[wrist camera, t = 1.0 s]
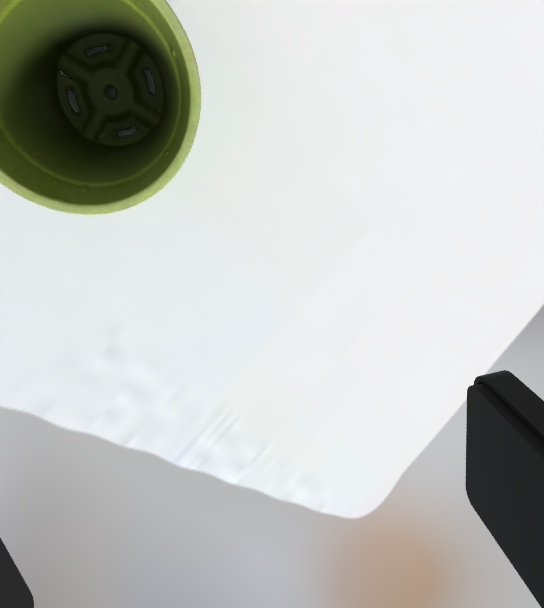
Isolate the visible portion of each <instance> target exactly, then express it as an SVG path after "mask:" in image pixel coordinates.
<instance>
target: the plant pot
mask: <svg viewBox="0 0 544 608" xmlns="http://www.w3.org/2000/svg"><path fill="white" fill-rule="evenodd" d="M102 45H105V46H107V48H108V50H107V51H104V52H99V53H95V54H93V55H90V56H88V55H87V54H86V53H85V52H84V51H87V50H90V49H91V48H94V47H96V46H102ZM146 69H148V70H149V71H150V73H151V76H152V78H153V82H154V84H155V90H156V93H154V94H151V93H150V92H149V90H148V85H147V81H146V77H145V75H144V74H143V72H144V70H146ZM59 71H62V72H64V73H65V74H66V75H68V76H70V77H71V78H73V79H74V80H75V81H74V80H72V79H70V78H67V77H66V76H63V75H62V74H61V73H60V72H59ZM109 86H112V87H113V88H115V89H116V96H115V97H114V98H109V97H108V96H107V95H106V93H105V90H106V88H107V87H109ZM68 90H71V91H73V92H74V94H75V97H76V101H77V103H78V106H79V108H80V110H81V112H80V113H75V112H74V111H73V109H72V107H71V105H70V103H69V99H68V95H67V93H68ZM153 107H154V108H153ZM155 108H156V109H155ZM200 108H201V87H200V79H199V73H198V67H197V63H196V59H195V56H194V52H193V50H192V47H191V44H190V41H189V39H188V37H187V35H186V33H185V31H184V29H183V27H182V25H181V23H180V21H179V20H178V18H177V16H176V15H175V13H174V12H173V10H172V9H171V7H170V6H169V4H168V3H167V2H166V0H0V183H1V184H3V185H4V186H5V187H7V188H8V189H10V190H11V191H13V192H15V193H16V194H18V195H20V196H22V197H23V198H25V199H27V200H29V201H32V202H34V203H36V204H39V205H41V206H44V207H47V208H50V209H53V210H56V211H61V212H66V213H73V214H85V215H96V214H107V213H112V212H116V211H121V210H124V209H127V208H130V207H133V206H135V205H137V204H139V203H142V202H143V201H145V200H147V199H149V198H150V197H151V196H153V195H154V194H156V193H157V192H159V191H160V190H161V189H162V188H164V187H165V186H166V185H167V184H168V183H169V182H170V181H171V180H172V178H173V177H174V176H175V175H176V174H177V172H178V171H179V169H180V168H181V166H182V164H183V163H184V161H185V159H186V158H187V156H188V154H189V152H190V149H191V147H192V145H193V142H194V139H195V135H196V131H197V127H198V123H199V116H200ZM158 111H159V112H158ZM134 125H136V129H137V130H138V131H137V132H136V133H134V134H131V135H126V136H125V137H117V135H116V131H118V130H124V129H128V128H131V127H132V126H134ZM101 135H102V136H101ZM100 136H101V137H100Z"/></svg>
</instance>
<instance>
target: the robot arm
mask: <svg viewBox="0 0 544 608" xmlns="http://www.w3.org/2000/svg"><path fill="white" fill-rule="evenodd" d="M466 437H467V438H466V440H467V441H466V491H467V495H468V498H469V500H470V503H471V505H472V506H473V508H474V509H475V511H476V512H477V514H478V515H479V516H480V518H481V520H482V521H483V522H484V524H485V525H486V527H487V528H488V530H489V531H490V533H491V534H492V536H493V537H494V539H495V540H496V541H497V543H498V544H499V546H500V547H501V549H502V550H503V552H504V553H505V555H506V556H507V558H508V559H509V560H510V562H511V563H512V565H513V566H514V568H515V569H516V571H517V572H518V574H519V575H520V577H521V578H522V579H523V581H524V583H525V584H526V585H527V587H528V588H529V590H530V591H531V593H532V594H533V596H534V597H535V598H536V600H537V602H538V603H539V604H540V606H541V607H542V608H544V401H543V400H542V399H541V398H539V397H538V396H537V395H536V394H535V393H534V392H533V391H532V390H530V389H529V388H528V387H527V386H526V385H525V384H524V383H522V382H521V381H520V380H519V379H518V378H517V377H515V376H514V375H513V374H512V373H510V372H509V371H505V370H504V371H500V372H495V373H491V374H486V375H482V376H478V377H476V379H475V381H474V385H472V386H470V387H469V388H468V390H467V436H466ZM0 608H34V601H33V596H32V594H31V592H30V590H29V588H28V586H27V584H26V583H25V581H24V579H23V577H22V576H21V574H20V572H19V570H18V568H17V567H16V565H15V563H14V561H13V560H12V558H11V556H10V554H9V552H8V551H7V549H6V547H5V545H4V544H3V542H2V540H1V538H0Z"/></svg>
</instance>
